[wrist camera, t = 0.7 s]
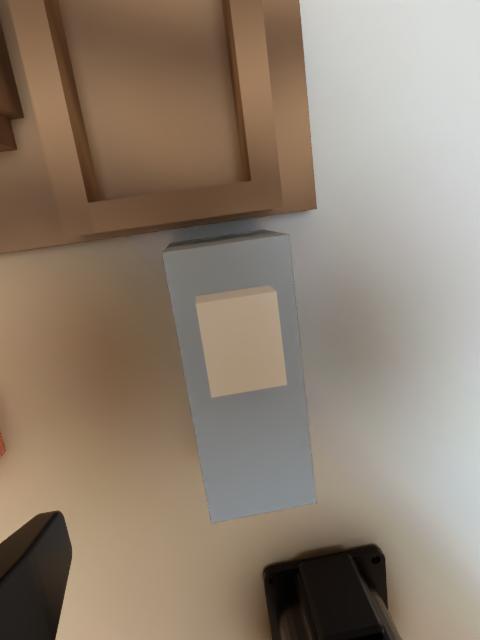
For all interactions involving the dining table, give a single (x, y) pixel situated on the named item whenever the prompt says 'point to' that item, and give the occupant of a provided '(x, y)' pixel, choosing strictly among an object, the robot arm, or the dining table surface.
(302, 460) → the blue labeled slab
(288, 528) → the dining table surface
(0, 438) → the terracotta rectangular block
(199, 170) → the jig
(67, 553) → the robot arm
